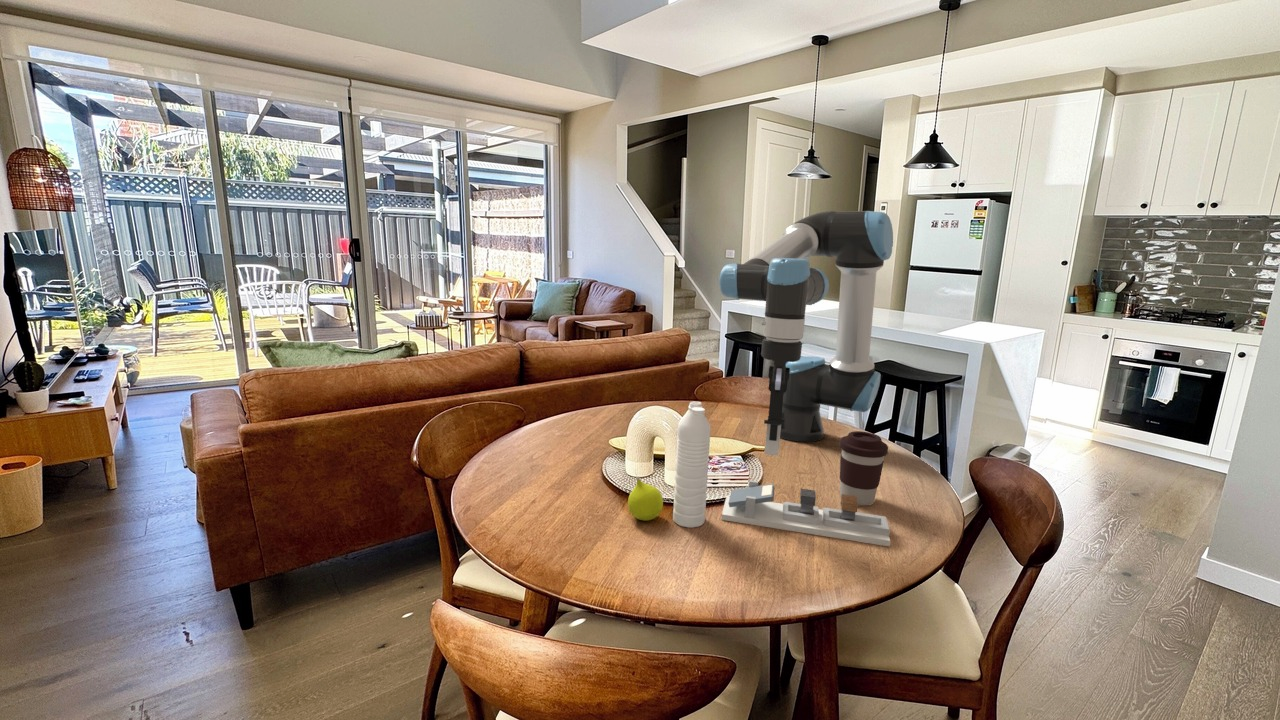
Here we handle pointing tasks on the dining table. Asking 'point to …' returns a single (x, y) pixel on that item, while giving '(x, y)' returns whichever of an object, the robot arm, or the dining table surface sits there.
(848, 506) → the slider
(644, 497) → the ornament
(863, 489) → the coffee cup
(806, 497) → the slider
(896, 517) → the dining table surface
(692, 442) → the water bottle
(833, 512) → the panel
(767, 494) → the rocker
